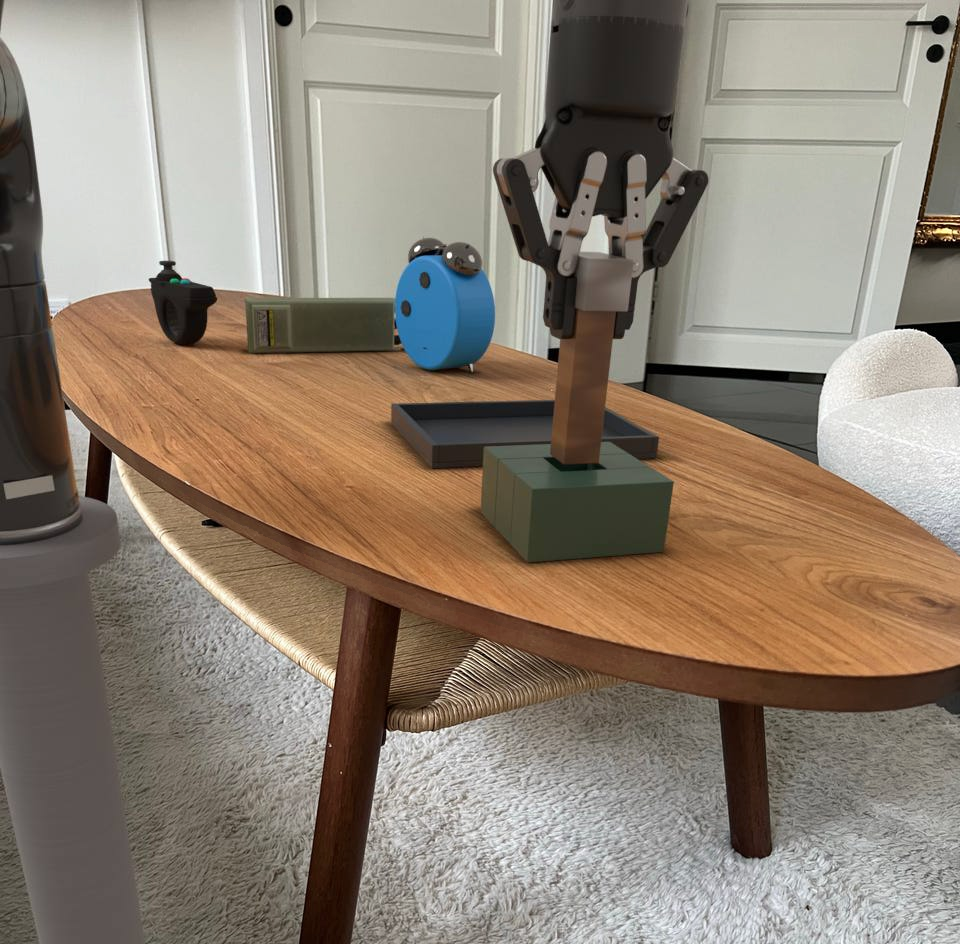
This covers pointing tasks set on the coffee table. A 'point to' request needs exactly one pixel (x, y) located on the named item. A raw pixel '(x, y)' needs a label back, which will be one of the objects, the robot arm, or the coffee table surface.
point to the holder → (574, 503)
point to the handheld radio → (320, 324)
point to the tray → (498, 429)
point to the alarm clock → (444, 305)
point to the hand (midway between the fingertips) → (586, 335)
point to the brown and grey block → (588, 357)
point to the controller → (181, 305)
